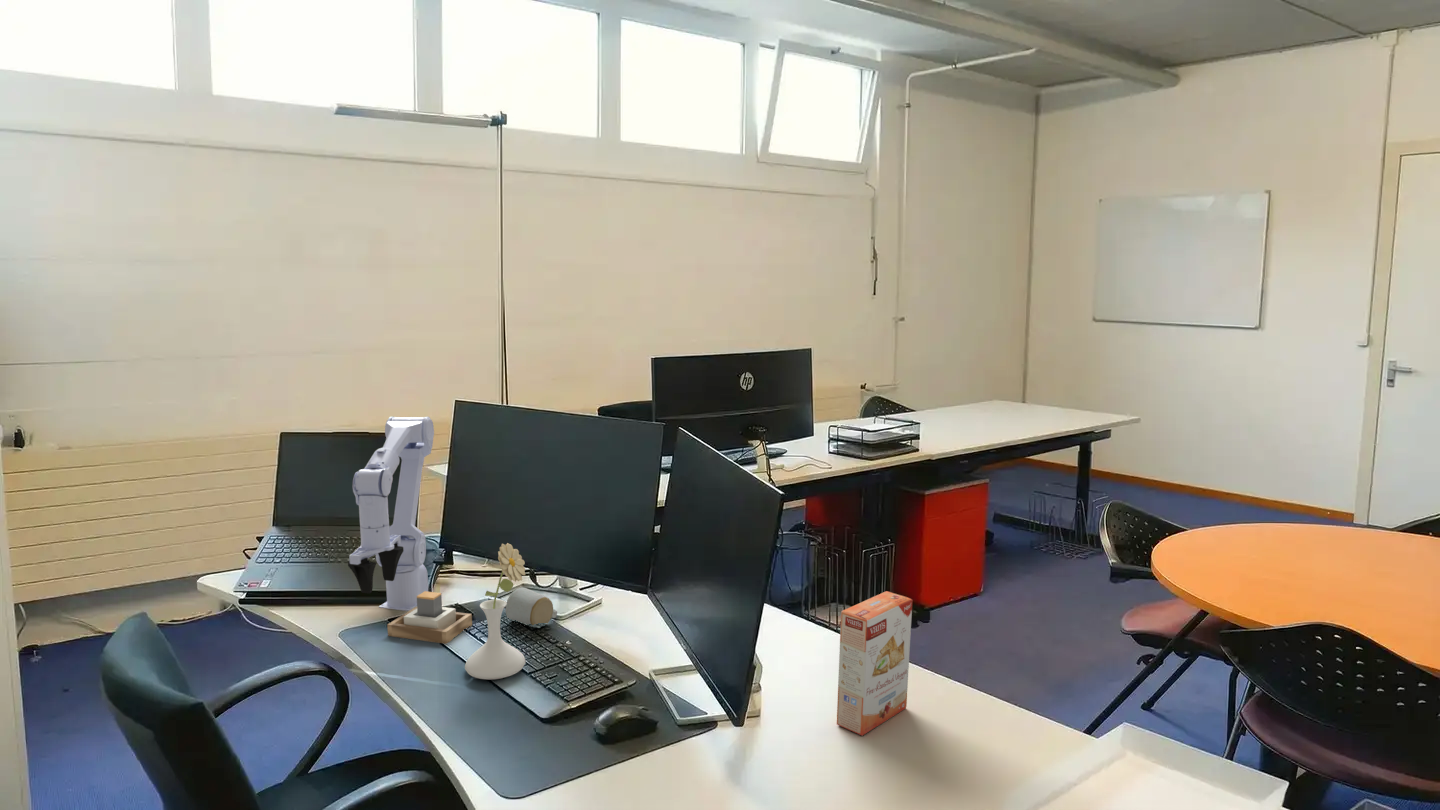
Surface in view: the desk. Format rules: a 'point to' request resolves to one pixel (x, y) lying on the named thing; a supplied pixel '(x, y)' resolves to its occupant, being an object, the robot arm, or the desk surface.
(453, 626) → the walled box
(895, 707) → the cracker box
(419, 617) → the socket block
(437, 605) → the block
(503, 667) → the flower in vase
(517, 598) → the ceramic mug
